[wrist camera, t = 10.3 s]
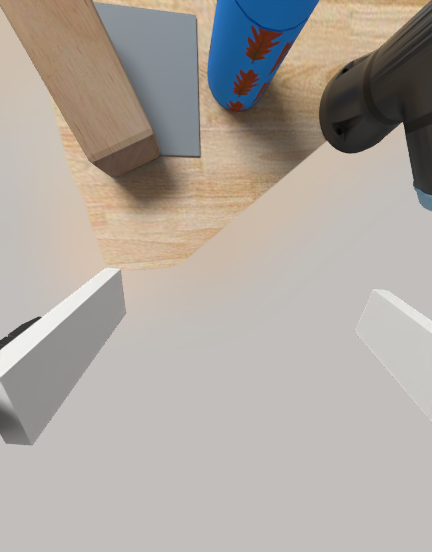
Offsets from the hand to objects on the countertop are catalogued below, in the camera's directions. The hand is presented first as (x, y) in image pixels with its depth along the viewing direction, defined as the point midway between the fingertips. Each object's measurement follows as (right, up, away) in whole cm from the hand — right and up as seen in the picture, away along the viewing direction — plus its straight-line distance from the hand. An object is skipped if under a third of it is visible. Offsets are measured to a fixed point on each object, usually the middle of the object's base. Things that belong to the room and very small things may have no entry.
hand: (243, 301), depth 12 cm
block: (-15, +20, +23) cm, 33 cm away
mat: (-14, +34, +25) cm, 44 cm away
